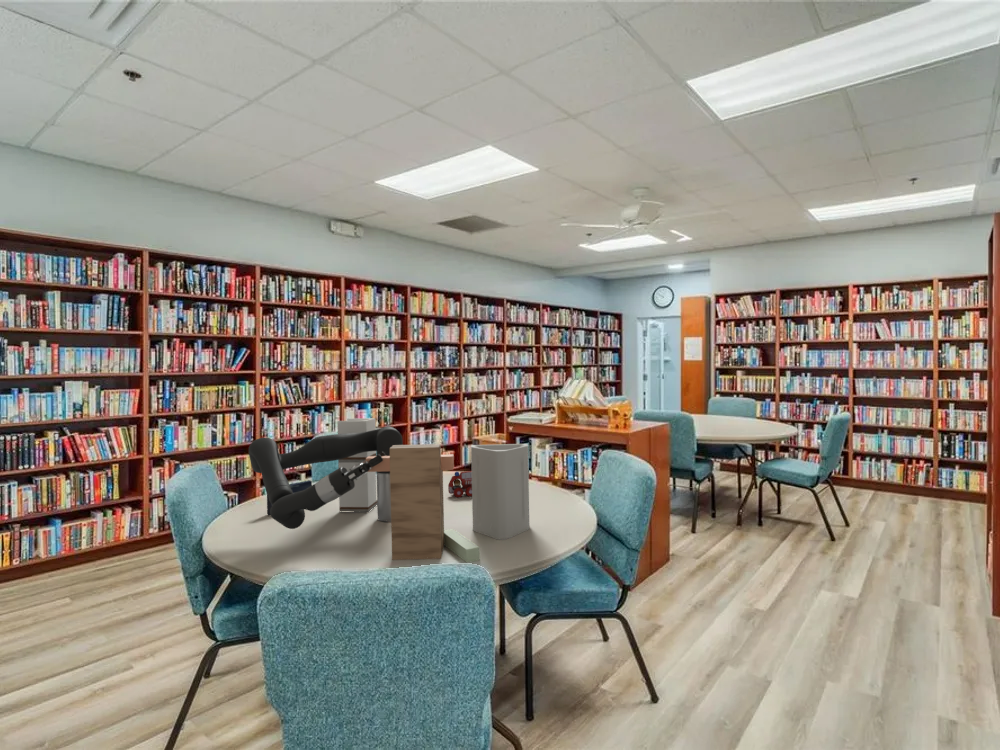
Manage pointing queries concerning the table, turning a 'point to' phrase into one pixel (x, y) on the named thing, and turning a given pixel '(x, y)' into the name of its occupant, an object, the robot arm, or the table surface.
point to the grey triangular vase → (500, 489)
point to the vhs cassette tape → (295, 488)
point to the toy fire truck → (465, 482)
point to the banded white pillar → (365, 486)
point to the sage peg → (461, 546)
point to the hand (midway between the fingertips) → (383, 456)
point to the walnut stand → (416, 502)
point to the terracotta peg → (446, 463)
